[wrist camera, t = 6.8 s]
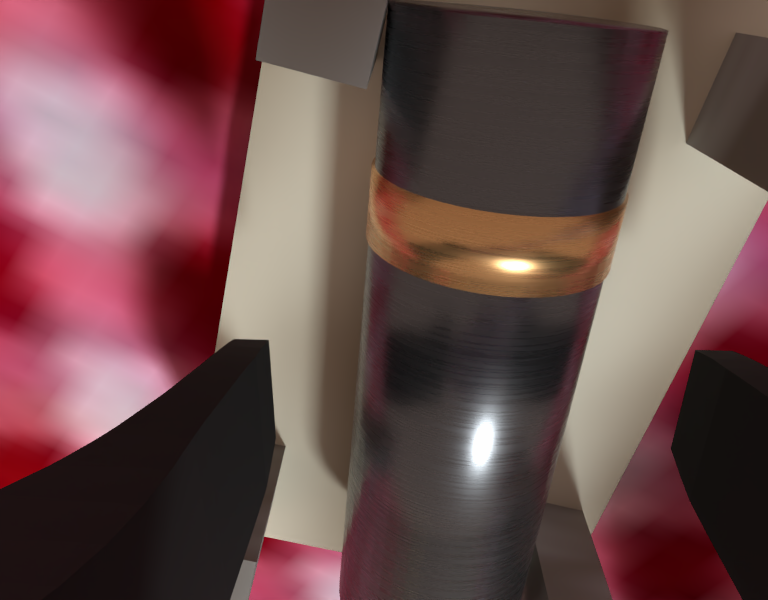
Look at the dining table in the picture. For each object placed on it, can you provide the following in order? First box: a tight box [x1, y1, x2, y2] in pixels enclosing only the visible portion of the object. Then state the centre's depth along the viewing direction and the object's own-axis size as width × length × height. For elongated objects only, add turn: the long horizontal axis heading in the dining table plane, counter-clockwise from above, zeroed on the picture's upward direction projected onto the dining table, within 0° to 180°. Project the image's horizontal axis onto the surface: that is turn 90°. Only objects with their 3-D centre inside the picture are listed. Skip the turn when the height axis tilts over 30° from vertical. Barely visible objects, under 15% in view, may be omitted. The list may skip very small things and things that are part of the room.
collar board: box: [215, 0, 768, 600], centre depth 13 cm, size 10×15×4 cm, turn 166°
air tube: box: [339, 0, 668, 600], centre depth 12 cm, size 12×4×4 cm, turn 175°
